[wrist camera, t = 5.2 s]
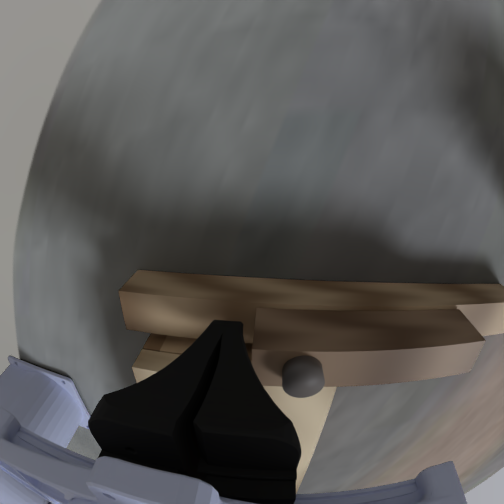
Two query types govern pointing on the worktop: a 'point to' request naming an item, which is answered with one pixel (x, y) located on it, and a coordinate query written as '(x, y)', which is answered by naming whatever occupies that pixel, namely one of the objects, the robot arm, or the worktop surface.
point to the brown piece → (283, 303)
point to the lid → (296, 409)
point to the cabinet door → (360, 347)
